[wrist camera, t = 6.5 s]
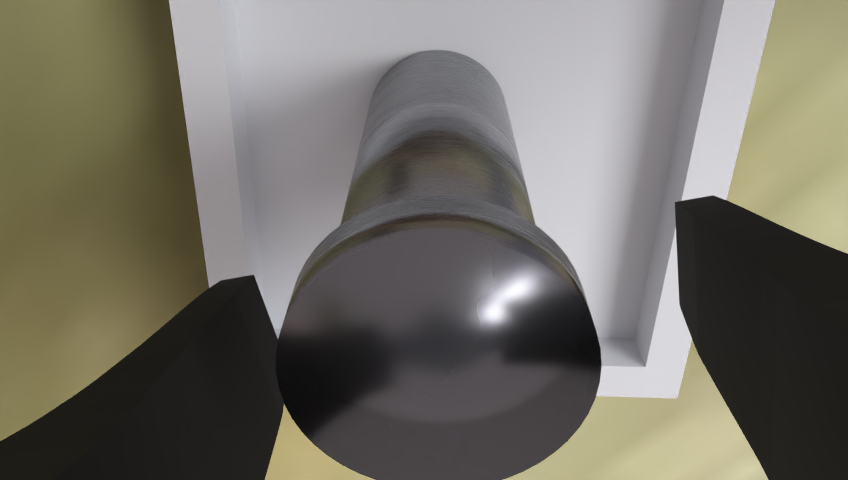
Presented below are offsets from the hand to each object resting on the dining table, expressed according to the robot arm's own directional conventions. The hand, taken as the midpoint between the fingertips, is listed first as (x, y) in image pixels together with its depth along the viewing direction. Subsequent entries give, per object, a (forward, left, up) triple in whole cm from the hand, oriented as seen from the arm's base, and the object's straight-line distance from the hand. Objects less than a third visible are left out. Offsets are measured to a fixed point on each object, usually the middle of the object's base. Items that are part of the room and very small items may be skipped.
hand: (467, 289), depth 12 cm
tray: (0, 0, -6) cm, 6 cm away
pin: (+1, -1, -6) cm, 6 cm away
